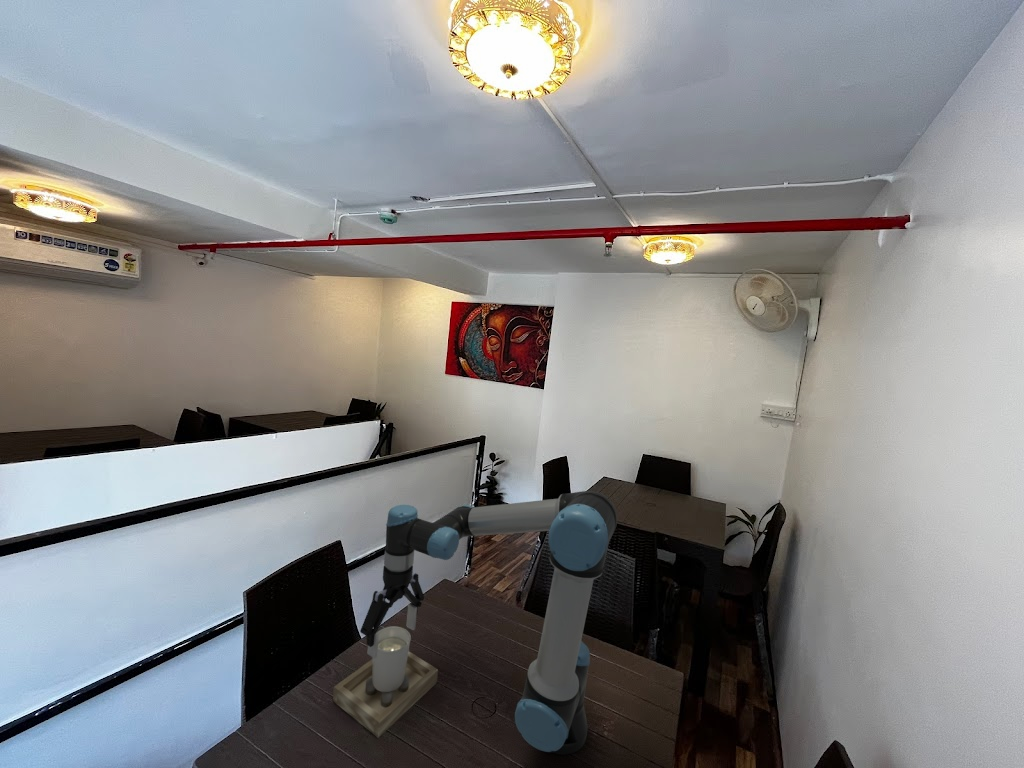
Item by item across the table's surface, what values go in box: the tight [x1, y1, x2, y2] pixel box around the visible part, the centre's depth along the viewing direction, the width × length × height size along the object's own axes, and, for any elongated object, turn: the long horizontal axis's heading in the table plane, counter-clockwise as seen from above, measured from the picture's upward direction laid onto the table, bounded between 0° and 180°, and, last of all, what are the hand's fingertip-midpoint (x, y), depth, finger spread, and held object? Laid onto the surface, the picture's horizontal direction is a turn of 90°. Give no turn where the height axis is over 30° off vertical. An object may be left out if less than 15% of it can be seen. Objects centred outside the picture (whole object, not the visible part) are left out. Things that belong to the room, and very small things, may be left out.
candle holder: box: [372, 625, 412, 692], centre depth 113 cm, size 10×10×12 cm
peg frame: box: [332, 650, 439, 739], centre depth 114 cm, size 17×21×4 cm
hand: (392, 641), depth 112 cm, fingers open, 13 cm apart
